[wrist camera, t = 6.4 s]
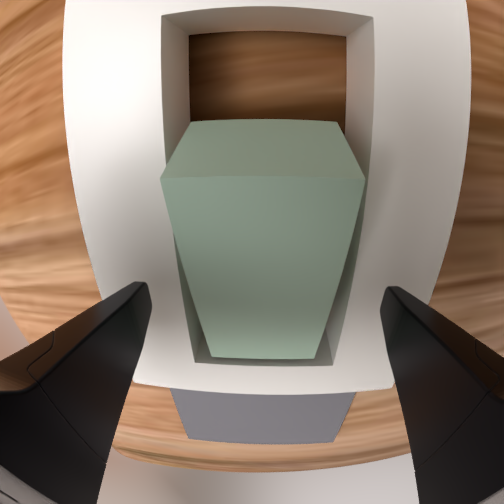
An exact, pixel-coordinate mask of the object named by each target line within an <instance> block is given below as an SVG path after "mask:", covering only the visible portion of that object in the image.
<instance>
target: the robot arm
mask: <svg viewBox="0 0 504 504" xmlns="http://www.w3.org/2000/svg"><path fill="white" fill-rule="evenodd" d="M151 312H152V300H151V296H150V292H149V287H148V284H147V283H146V282H140V281H134V282H132V283H131V284H129V285H127V286H125V287H124V288H122V289H120V290H119V291H117V292H115V293H114V294H112V295H110V296H109V297H107V298H105V299H104V300H102V301H100V302H99V303H97V304H95V305H94V306H92V307H90V308H89V309H87V310H86V311H84V312H82V313H81V314H79V315H77V316H76V317H74V318H73V319H71V320H69V321H68V322H66V323H64V324H63V325H61V326H60V327H58V328H56V329H55V331H52V332H50V333H48V334H47V335H45V336H44V337H42V338H40V339H39V340H37V341H35V342H34V343H32V344H30V345H29V346H27V347H25V348H23V349H21V350H20V351H18V352H16V353H14V354H12V355H10V356H9V357H7V358H5V359H3V360H1V361H0V504H97V499H98V495H99V491H100V487H101V483H102V479H103V475H104V471H105V468H106V463H107V460H108V456H109V452H110V449H111V445H112V442H113V438H114V435H115V432H116V428H117V425H118V422H119V418H120V415H121V412H122V409H123V406H124V402H125V399H126V396H127V393H128V390H129V387H130V384H131V381H132V378H133V375H134V372H135V369H136V367H137V364H138V361H139V358H140V355H141V352H142V349H143V345H144V341H145V337H146V332H147V328H148V324H149V320H150V316H151ZM380 317H381V322H382V328H383V333H384V338H385V344H386V350H387V354H388V358H389V362H390V365H391V369H392V373H393V376H394V380H395V384H396V388H397V391H398V395H399V399H400V403H401V407H402V412H403V416H404V420H405V425H406V429H407V434H408V439H409V443H410V448H411V454H412V459H413V464H414V470H415V477H416V483H417V490H418V496H419V504H504V357H502V356H500V355H499V354H497V353H496V352H494V351H493V350H492V349H490V348H489V347H487V346H486V345H484V344H483V343H482V342H480V341H479V340H477V339H475V338H474V337H473V336H472V335H470V334H469V333H467V332H466V331H465V330H463V329H462V328H460V327H459V326H458V325H456V324H455V323H453V322H452V321H450V320H449V319H447V318H446V317H444V316H443V315H442V314H440V313H439V312H437V311H436V310H434V309H433V308H431V307H430V306H428V305H427V304H425V303H424V302H422V301H421V300H419V299H418V298H416V297H415V296H413V295H412V294H410V293H409V292H407V291H406V290H404V289H403V288H401V287H399V286H388V287H386V289H385V291H384V295H383V299H382V302H381V306H380Z"/></svg>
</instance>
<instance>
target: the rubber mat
mask: <svg viewBox="0 0 504 504" xmlns="http://www.w3.org/2000/svg"><path fill="white" fill-rule="evenodd" d="M170 391H171V393H172V396H173V399H174V402H175V405H176V407H177V410H178V413H179V415H180V418H181V421H182V423H183V426H184V428H185V431H186V433H187V436H188V438H189V439H196V440H205V441H215V442H227V443H244V444H312V443H328V442H333V441H334V439H335V437H336V435H337V433H338V431H339V429H340V427H341V425H342V423H343V420H344V418H345V416H346V414H347V411H348V409H349V407H350V405H351V402H352V400H353V398H354V395H355V393H356V392H346V393H330V394H303V395H263V394H236V393H220V392H207V391H196V390H186V389H177V388H170Z"/></svg>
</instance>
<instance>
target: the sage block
mask: <svg viewBox="0 0 504 504" xmlns="http://www.w3.org/2000/svg"><path fill="white" fill-rule="evenodd" d="M160 182H161V186H162V190H163V194H164V198H165V202H166V206H167V210H168V214H169V218H170V222H171V226H172V229H173V233H174V237H175V240H176V244H177V248H178V251H179V255H180V258H181V262H182V265H183V269H184V272H185V275H186V279H187V282H188V285H189V289H190V292H191V295H192V298H193V302H194V305H195V308H196V311H197V314H198V317H199V320H200V323H201V326H202V329H203V332H204V335H205V338H206V341H207V344H208V347H209V350H210V353H211V356H212V357H223V358H247V359H314V357H315V355H316V352H317V349H318V346H319V343H320V341H321V338H322V335H323V332H324V329H325V326H326V323H327V320H328V317H329V314H330V311H331V307H332V304H333V301H334V298H335V295H336V291H337V288H338V285H339V281H340V278H341V275H342V271H343V268H344V264H345V261H346V257H347V253H348V250H349V246H350V242H351V239H352V235H353V231H354V227H355V223H356V219H357V215H358V211H359V206H360V202H361V198H362V193H363V189H364V184H365V177H364V175H363V173H362V171H361V169H360V167H359V165H358V162H357V160H356V158H355V156H354V154H353V152H352V150H351V148H350V146H349V144H348V142H347V140H346V138H345V136H344V134H343V133H342V131H341V129H340V127H339V125H338V123H337V122H331V121H315V120H292V119H234V120H210V121H194V122H191V123H190V125H189V126H188V128H187V130H186V131H185V133H184V135H183V137H182V138H181V140H180V142H179V144H178V146H177V147H176V149H175V151H174V153H173V155H172V156H171V158H170V160H169V162H168V164H167V166H166V168H165V169H164V171H163V173H162V175H161V177H160Z"/></svg>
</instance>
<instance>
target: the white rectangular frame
mask: <svg viewBox="0 0 504 504" xmlns="http://www.w3.org/2000/svg"><path fill="white" fill-rule="evenodd" d="M233 31H291V32H307V33H319V34H329V35H338V36H345V37H346V43H347V85H346V119H345V138H346V140H347V142H348V144H349V146H350V148H351V150H352V152H353V154H354V156H355V158H356V160H357V162H358V165H359V167H360V169H361V171H362V173H363V175H364V177H365V184H364V189H363V193H362V198H361V202H360V206H359V211H358V215H357V219H356V223H355V227H354V231H353V235H352V239H351V242H350V246H349V250H348V253H347V257H346V261H345V264H344V268H343V271H342V275H341V278H340V281H339V285H338V288H337V291H336V295H335V298H334V301H333V304H332V307H331V311H330V314H329V317H328V320H327V323H326V326H325V329H324V332H323V335H322V338H321V341H320V343H319V346H318V349H317V352H316V355H315V357H314V359H247V358H223V357H212V356H211V353H210V350H209V347H208V344H207V341H206V338H205V335H204V332H203V329H202V326H201V323H200V320H199V317H198V314H197V311H196V308H195V305H194V302H193V298H192V295H191V292H190V289H189V285H188V282H187V279H186V275H185V272H184V269H183V265H182V262H181V258H180V255H179V251H178V248H177V244H176V240H175V237H174V233H173V229H172V226H171V222H170V218H169V214H168V210H167V206H166V202H165V198H164V194H163V190H162V186H161V182H160V177H161V175H162V173H163V171H164V169H165V168H166V166H167V164H168V162H169V160H170V158H171V156H172V155H173V153H174V151H175V149H176V147H177V146H178V144H179V142H180V140H181V138H182V137H183V135H184V133H185V131H186V130H187V128H188V126H189V125H190V98H189V35H194V34H204V33H216V32H233ZM63 97H64V113H65V125H66V135H67V144H68V152H69V160H70V167H71V173H72V179H73V185H74V191H75V196H76V202H77V207H78V211H79V216H80V221H81V225H82V230H83V234H84V238H85V242H86V246H87V250H88V254H89V257H90V261H91V265H92V268H93V272H94V275H95V278H96V282H97V285H98V288H99V291H100V295H101V298H102V300H104V299H105V298H107V297H109V296H110V295H112V294H114V293H115V292H117V291H119V290H120V289H122V288H124V287H125V286H127V285H129V284H131V283H132V282H134V281H140V282H146V283H147V284H148V287H149V292H150V296H151V300H152V312H151V316H150V320H149V324H148V328H147V332H146V337H145V341H144V345H143V349H142V352H141V355H140V358H139V361H138V364H137V367H136V369H135V372H134V375H133V381H134V382H135V383H141V384H147V385H154V386H161V387H169V388H177V389H186V390H196V391H207V392H220V393H236V394H263V395H303V394H330V393H346V392H359V391H370V390H380V389H388V388H392V386H393V384H394V382H395V380H394V376H393V373H392V369H391V365H390V362H389V358H388V354H387V350H386V344H385V338H384V333H383V328H382V322H381V317H380V306H381V302H382V299H383V295H384V291H385V289H386V287H388V286H399V287H401V288H403V289H404V290H406V291H407V292H409V293H410V294H412V295H413V296H415V297H416V298H418V299H419V300H421V301H422V302H424V303H425V304H427V305H428V304H429V301H430V299H431V296H432V293H433V290H434V287H435V284H436V281H437V278H438V275H439V272H440V269H441V266H442V262H443V259H444V255H445V252H446V248H447V245H448V241H449V237H450V233H451V230H452V225H453V221H454V217H455V213H456V208H457V203H458V198H459V193H460V188H461V183H462V177H463V171H464V164H465V157H466V149H467V141H468V131H469V119H470V103H471V49H470V33H469V22H468V13H467V5H466V0H66V5H65V16H64V31H63Z"/></svg>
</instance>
